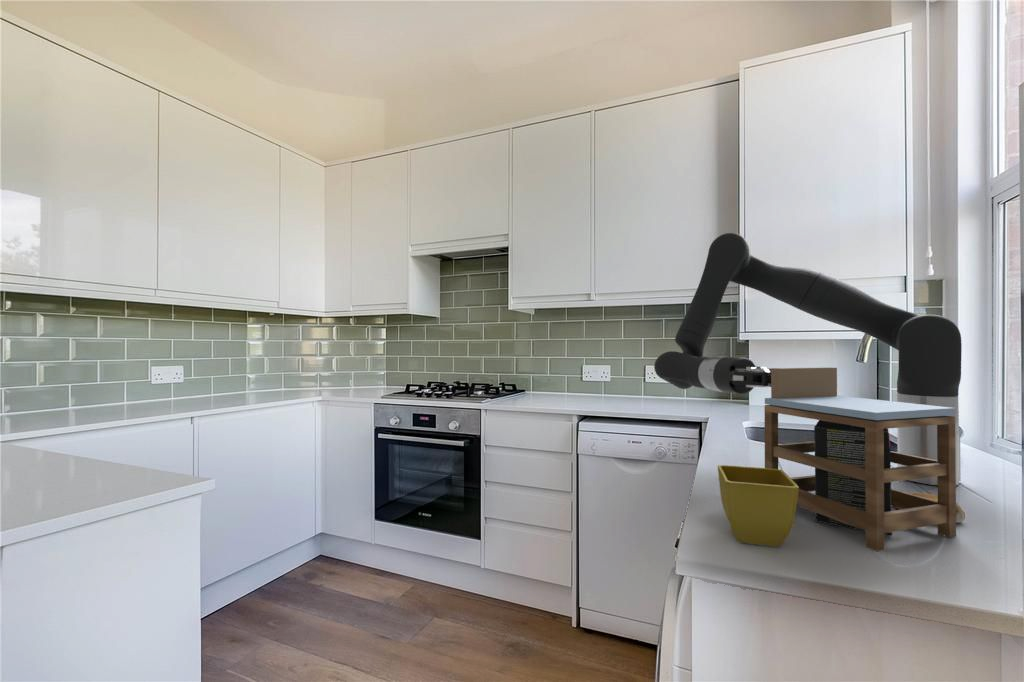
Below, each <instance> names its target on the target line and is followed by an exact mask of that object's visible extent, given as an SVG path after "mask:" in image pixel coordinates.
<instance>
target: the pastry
mask: <svg viewBox="0 0 1024 682" xmlns="http://www.w3.org/2000/svg"><path fill="white" fill-rule="evenodd" d="M907 493H910V494H914V495H918V496H921V497H925V498H929V499H932V500H936V501H938V495H935V494H933V493H924V492H907ZM899 509H900V510H903V508H899V507H898V508H897V510H899ZM965 519H966V513H965V511H964V510H963V508H962V507H961V505H960V504H958V503H957V502H956V524H958V523H962V522H963V521H964V520H965Z"/></svg>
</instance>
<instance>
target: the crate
mask: <svg viewBox="0 0 1024 682" xmlns="http://www.w3.org/2000/svg"><path fill="white" fill-rule="evenodd" d="M779 414H780V415H787V416H792V417H798V418H799V417H800V418H805V419H812V420H817V421H819V420H822V421H828V422H834V423H840V424H846V425H852V426H858V427H865V468H864V467H860V466H856V465H851V464H847V463H843V462H839V461H835V460H831V459H827V458H823V457H819V456H815V454H810V453H815V440H814V441H813V440H812V441H803V442H790V443H788V442H787V443H780V444H779ZM928 425H937V460H933V459H928V458H923V457H918V456H913V455H908V454H903V453H898V451H892V450H890V463H891V464H892V463H893V464H897V465H898V464H901V465H905V466H904V467H898V466H897V467H891V468H886V469H884V429H888V430H889V429H897V428H902V427H915V426H928ZM779 459H782V460H786V461H790V462H794V463H797V464H801V465H804V466H808V467H811V468H814V469H815V468H818V469H822V470H826V471H829V472H833V473H837V474H840V475H844V476H848V477H852V478H855V479H859V480H863V481H865V489H866V511H864V510H861V509H858V508H855V507H852V506H849V505H846V504H843V503H840V502H837V501H834V500H830V499H827V498H824V497H821V496H818V495H815V493H812V492H814V491H815V474H812V475H804V476H794V477H790V478H791V479H792V480H793V481H794V482H795V483H796V484H797V486H798V487H799V491H798V499H797V506H798V507H800V508H803V509H806V510H808V511H811V512H813V513H815V512H816V513H819V514H821V515H824V516H827V517H829V518H832V519H835V520H837V521H840V522H843V523H845V524H848V525H851V526H854V527H856V528H859V529H862V530H861V531H863V530H864V532H865V547H866V548H867V549H870V550H873V551H876V552H881V551H885V535H884V533H890V532H892V533H894V532H901V531H906V530H911V529H918V528H923V527H929V526H936V525H937V534H938V535H940V534H941V535H940V536H943V535H945V536H944V537H946V536H948V537H947V538H949V537H950V538H953V537H952V536H956V537H957V523H956V503H957V485H956V446H955V416H934V417H919V418H904V419H889V420H871V419H864V418H857V417H850V416H843V415H837V414H830V413H823V412H816V411H809V410H803V409H796V408H789V407H782V406H775V405H769V404H764V468H770V469H779ZM936 476H937V483H938V485H937V496H938V501H936V500H932V499H929V498H925V497H921V496H918V495H914V494H910V493H911V492H909V493H907V492H906V491H902V490H899V489H895V488H892V487H891V506H894V507H895V506H896V507H895V508H897V507H899V508H903V510H899V509H897V510H891V511H889V512H884V483H888V482H891V483H894V482H895V483H896V482H902V481H903V482H904V481H910V480H912V479H920V478H928V477H936ZM797 506H796V507H797Z"/></svg>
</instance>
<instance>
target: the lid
mask: <svg viewBox="0 0 1024 682" xmlns="http://www.w3.org/2000/svg"><path fill="white" fill-rule="evenodd" d="M770 369H771V387H770V389H771V390H770V391H771V393H770V395H771V396H770V397H765V398H764V405H775V406H782V407H789V408H796V409H803V410H809V411H816V412H823V413H830V414H837V415H843V416H850V417H857V418H864V419H871V420H889V419H904V418H919V417H934V416H949V415H956V408H951V407H941V406H932V405H922V404H913V403H904V402H897V401H893V400H892V401H891V400H883V399H873V398H865V397H856V396H855V397H854V396H844V395H838V368H837V367H832V366H831V367H830V366H829V367H828V366H826V367H825V366H821V367H771V368H770Z"/></svg>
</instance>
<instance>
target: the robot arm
mask: <svg viewBox="0 0 1024 682" xmlns="http://www.w3.org/2000/svg"><path fill="white" fill-rule="evenodd" d="M704 264H705V265H704V268H703V272H702V275H701V278H700V281H699V283H698V286H697V288H696V291H695V293H694V295H693V297H692V300H691V303H690V304H689V307H688V308H687V310H686V313H685V315H684V318H683V319H682V321H681V324H680V325H679V328H678V330H677V332H676V335H675V338H674V341H675V343H676V345H677V346H678V347H679V348H680V349H681V351H682V352H680V351H676V350H675V351H665V352H662V354H660V355H659V356H658V357H657V358H656V359H655V361H654V368H653V369H654V372H655V373H656V376H658V378H660V379H661V380H664V381H665V382H667V383H670V384H671V385H673V386H674V387H677V388H678V389H680V390H681V389H682V390H687V389H691V387H695V388H700V389H707V390H711V391H713V392H714V391H715V392H720V393H727V394H734V395H735V394H736V395H745V394H748V393H750V392H751V391H752V390H753V389H754V388H771V368H768V367H766V366H756V365H755V363H754V362H753V361H752V360H751V359H749V358H748V357H745V356H744V357H742V356H721V355H717V356H704V349H705V346H706V343H707V342H708V341H707V340H708V339H709V338H710V334H711V332H712V330H713V328H714V325H715V322H716V320H717V318H718V317H717V316H718V313H719V310H720V308H721V303H722V301H723V297H724V295H725V292H726V290H727V288H728V286H729V283H730V282H731V283H734V284H738V285H740V286H744V287H747V288H751V289H752V290H755V291H759V292H761V293H763V294H765V295H767V296H769V297H771V298H773V299H775V300H778V301H780V302H782V303H785V304H787V305H789V306H792V307H793V308H796V309H798V310H800V311H802V312H804V313H807V314H809V315H812V316H814V317H816V318H819V319H822V320H824V321H827V322H829V323H832V324H833V323H834V324H837V325H839V326H843V327H846V328H849V329H852V330H855V331H858V332H861V333H864V334H866V335H868V336H870V337H872V338H874V339H877V340H878V341H880V342H882V343H883V344H886V345H888V346H890V348H891V347H892V348H893V349H895V350H897V351H898V372H897V380H896V400H897V401H896V402H904V403H913V404H922V405H932V406H941V407H951V408H956V415H949V416H955V446H956V486H959V485H960V482H961V478H962V477H961V474H962V473H961V434H960V432H959V431H960V430H959V429H960V428H959V426H960V422H959V421H960V418H959V417H960V414H959V412H960V411H959V408H960V407H959V405H960V404H959V392H960V390H959V389H960V384H961V380H962V347H963V346H962V335H961V332H960V329H959V327H958V325H956V323H955V322H954V321H952V320H950V319H949V318H947V317H945V316H942V315H937V314H919V313H916V312H912V311H908V310H905V309H902V308H900V307H897V306H892V305H891V304H887V303H885V302H882V301H880V300H879V299H877V298H875V297H873V296H871V295H869V294H868V293H866V291H865V292H864V291H863V290H861V289H859V288H858V287H856V286H854V285H851V284H850V283H848V282H846V281H843V280H841V279H838V278H836V277H834V276H831V275H829V274H825V273H824V272H822V271H818V270H814V269H811V268H805V267H794V266H793V267H792V266H783V265H778V264H773V263H770V262H768V261H766V260H765V261H764V260H763V259H760V258H758V257H756V256H754V255H752V254H750V246H749V242H748V241H747V240H746V238H745V237H744V236H743V235H741V234H739V233H736V232H727V233H726V232H725V233H723V234H721V235H719V236H717V237H716V238H715V239H714V240H712V243H711V244H710V246H709V249H708V251H707V257H706V261H705V263H704ZM896 429H897V430H896V431H897V432H896V433H897V434H896V435H897V438H896V439H897V452H898V453H903V454H908V455H913V456H918V457H923V458H928V459H933V460H937V425H928V426H915V427H902V428H896ZM904 466H905V465H901V464H897V467H904ZM909 481H910V482H914V483H920V484H925V485H932V486H938V483H937V476H936V477H928V478H920V479H912V480H909Z"/></svg>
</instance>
